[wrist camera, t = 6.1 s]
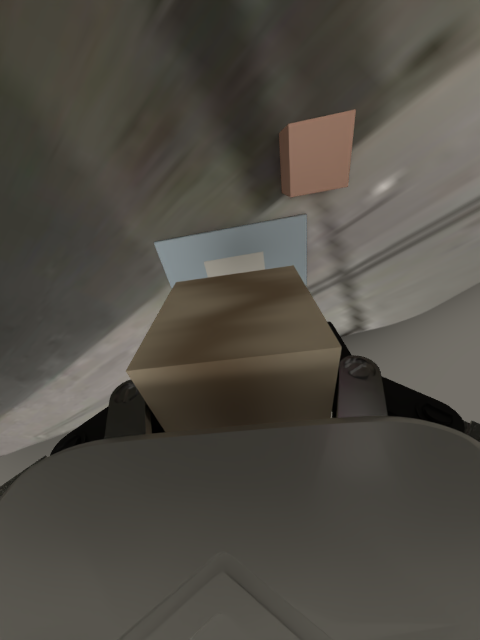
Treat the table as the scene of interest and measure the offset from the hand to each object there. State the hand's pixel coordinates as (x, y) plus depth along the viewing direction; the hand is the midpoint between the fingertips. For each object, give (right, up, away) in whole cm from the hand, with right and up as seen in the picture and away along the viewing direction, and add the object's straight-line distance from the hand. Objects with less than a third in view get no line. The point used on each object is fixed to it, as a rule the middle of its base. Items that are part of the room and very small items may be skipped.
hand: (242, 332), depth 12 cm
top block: (+7, +17, +10) cm, 21 cm away
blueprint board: (0, +6, +17) cm, 18 cm away
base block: (0, +1, +1) cm, 1 cm away
